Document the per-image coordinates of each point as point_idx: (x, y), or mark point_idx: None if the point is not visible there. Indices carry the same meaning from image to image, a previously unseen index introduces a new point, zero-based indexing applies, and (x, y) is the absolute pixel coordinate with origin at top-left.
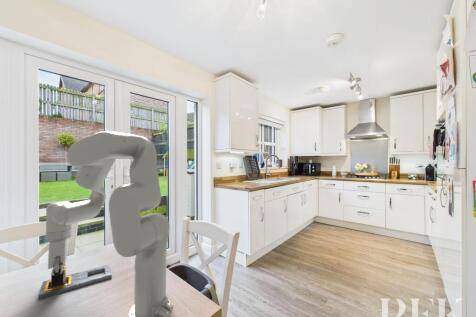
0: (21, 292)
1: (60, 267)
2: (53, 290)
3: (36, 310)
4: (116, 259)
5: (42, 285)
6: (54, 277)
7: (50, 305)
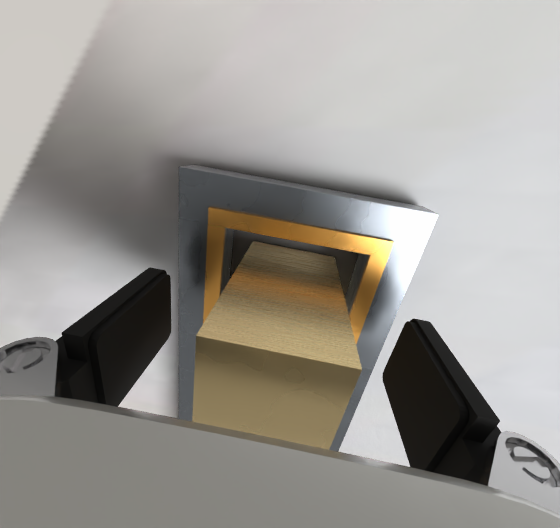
0: (470, 36)
1: (308, 427)
2: (188, 260)
3: (61, 147)
4: None
5: (353, 204)
6: (61, 337)
7: (81, 220)
